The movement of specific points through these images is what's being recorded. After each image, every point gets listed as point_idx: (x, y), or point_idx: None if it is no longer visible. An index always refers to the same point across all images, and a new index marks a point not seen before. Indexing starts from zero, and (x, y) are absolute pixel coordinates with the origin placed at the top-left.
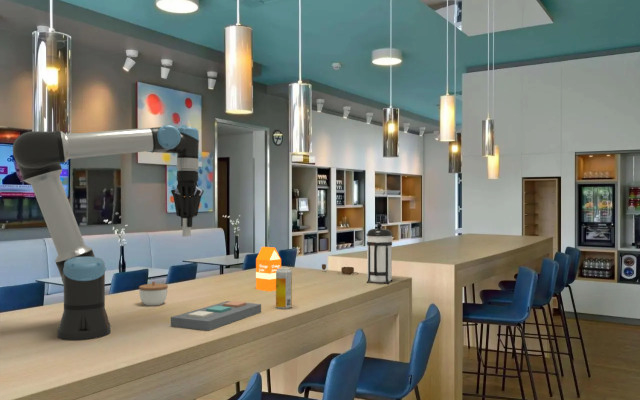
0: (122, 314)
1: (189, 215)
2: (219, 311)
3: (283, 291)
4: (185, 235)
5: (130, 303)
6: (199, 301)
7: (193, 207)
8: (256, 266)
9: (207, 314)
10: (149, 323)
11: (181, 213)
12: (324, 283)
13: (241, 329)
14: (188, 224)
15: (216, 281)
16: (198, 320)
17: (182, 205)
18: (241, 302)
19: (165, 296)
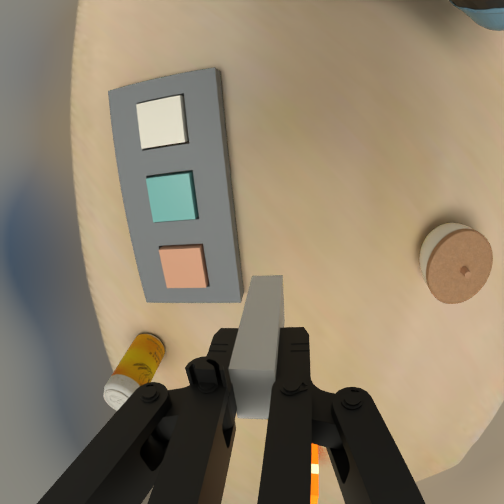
0: (435, 124)
1: (189, 397)
2: (150, 177)
3: (126, 355)
4: (254, 280)
5: (496, 241)
6: (366, 332)
7: (100, 452)
8: (317, 483)
9: (138, 123)
10: (293, 67)
11: (296, 413)
12: (249, 495)
13: (79, 142)
14: (225, 342)
15: (431, 459)
16: (133, 84)
17: (273, 501)
18: (175, 282)
19: (420, 267)
